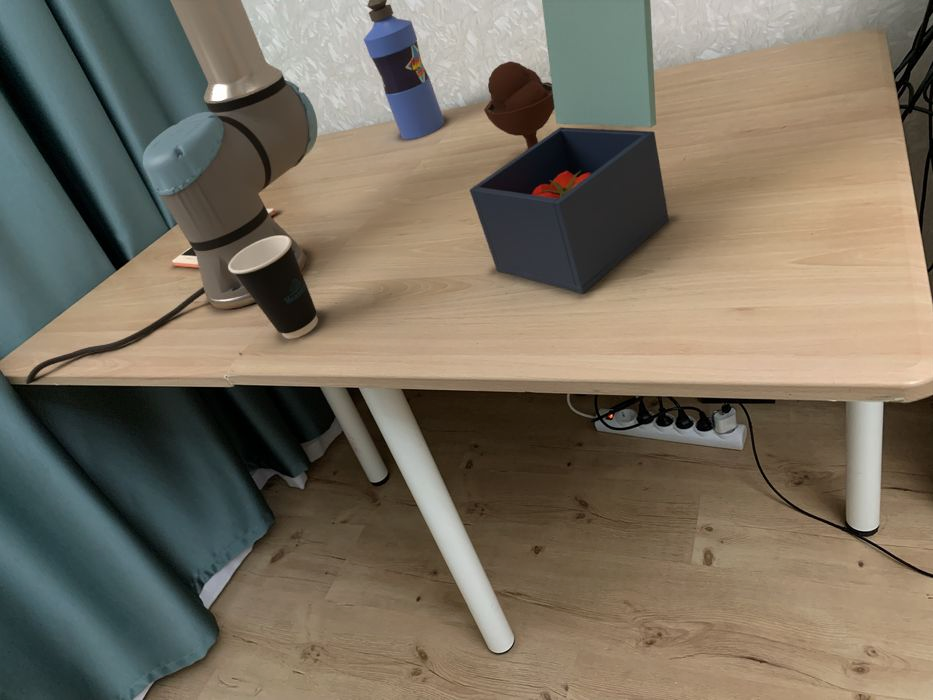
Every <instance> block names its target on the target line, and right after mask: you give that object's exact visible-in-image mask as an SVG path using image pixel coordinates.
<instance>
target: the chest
mask: <svg viewBox="0 0 933 700" xmlns="http://www.w3.org/2000/svg"><path fill="white" fill-rule="evenodd" d="M527 149H528V148H527ZM527 149H526V150H527ZM526 150H524V152H522V153H520V154H519V155H518V156H516V157H515V158H513V159H512V160H511V161H509V162H507V163H506V164H505V165H503V166H502V167H500V168H499V169H498V170H496V171H495V172H493V173H491V174H490V175H488V176H487V177H486V178H484V179H483V180H481V181H480V182H479V183H477V184H475V185H474V186H473V187H471V188H470V189H469V192H470V196H471V199H472V201H473V203H474V207H475V210H476V214H477V216H478V219H479V222H480V225H481V228H482V231H483V234H484V237H485V240H486V242H487V246H488V248H489V249H488V250H489V252H490V255H491V258H492V261H493V264H494V266H495V268H496V269H495V270H496V271H498V272H500V273H504V274H508V275H511V276H515V277H519V278H522V279H526V280H529V281H535V282H538V283H541V284H546V285H549V286H553V287H556V288H560V289H563V290H567V291H571V292H574V293H579V294H582V295H583V294H585V293H586V292H587V291H588V290H589V289H591V288H592V287H593V286H594V285H595V284H597V283H598V282H599V281H600V280H601V279H602V278H604V277H605V276H606V275H607V274H608V273H610V271H612V270H613V269H614V268H615V267H616V266H618V265H619V264H620V263H621V262H622V261H624V259H626V258H627V257H628V256H629V255H630V254H631V253H633V252H634V251H635V250H636V249H637V248H638V247H640V246H641V245H642V244H643V243H645V242H646V241H647V240H648V239H649V238H651V236H653V235H654V234H655V233H656V232H657V231H658V230H659V229H661V228H662V227H663V226H664V225H665V224H667V222H669V221H670V218H669V212H668V211H669V210H668V206H667V200H666V193H665V188H664V187H665V186H664V181H663V177H662V170H661V169H662V168H661V163H660V157H659V152H658V151H659V150H658V146H657V141H656V133H655V131H648V130H629V129H628V130H627V129H608V128H607V129H606V128H583V127H581V128H580V127H561V126H559V128H556V129H555V130H554V131H553V132H551V133H549V134H548V135H547V136H545V137H544V138H543V139H541V140H540V141H538V143H537V144H535V145H534V146H532V147H531V148H529V149H528V150H527V151H526ZM565 171H568V172H570V173H571V174H573V175H575V174H577V173H578V172H580V171H581V172H580V173H579V174H577V176H576V177H577V178H578V177H579V176H581V175H582V174H586V173H591V175H590V176H588V177H587V178H586V179H584V180H583V181H582V182H580V183H579V184H578V185H576V186H575V187H574V188H572V189H571V190H570V191H568V192H567V193H566V194H564V195H563V196H562V197H560V198H559V199H558V198H551V197H544V196H537V195H532V193H533V191H534V190H535V188H536V187H538V186H540V185H542V184H549V185H550V184H551V182H550V181H549V180H551V181H553V180H554V179H555V178H556V177H557V176H558V175H559V174H561V173H563V172H565Z"/></svg>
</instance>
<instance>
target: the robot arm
mask: <svg viewBox="0 0 933 700" xmlns="http://www.w3.org/2000/svg"><path fill="white" fill-rule="evenodd" d="M169 2H170V3H171V5H172V7H173V10H174V12H175V14H176V16H177V18H178V21H179V22H180V24H181V26H182V29H183V32H184V34H185V35H186V37H187V40H188V42H189V44H190V47H191V48H192V51H193V53H194V55H195V57H196V59H197V62H198V63H199V66H200V68H201V70H202V72H203V74H204V76H205V79H206V81H207V87H206V89H205V92H204V95H203V100H204V103H205V104H206V108H207V109H208V111H203V112H198V113H195V114H192V115H190V116H188V117H185V118H183V119H181V120H180V121H179V122H177V123H176V124H173V125H171V126H170V127H168V128H166V129H165V130H163V131H162V132H161V133H159V134H158V135H157V136H156V137H155V138H154V139H153V140H151V142H150V143H149V144H148V145H147V146H146V148H145V150H144V152H143V154H142V166H143V168H144V170H145V172H146V175H147V176H148V178H149V180H150V182H151V185H152V187H153V190H154V191H155V192H156V193H157V194H158V195H159V197H160V198H161V200H162V202H163V203H164V205H165V206H166V208H167V209H168V211H169V213H170V214H171V216H172V218H173V219H174V221H175V222H176V224H177V225H178V227H179V229H180V231H181V232H182V234H183V235H184V237H185V238H186V240H187V242H188V243H189V245H190V247H192V248H193V250H194V251H195V253H196V256H197V261H198V265H199V268H198V270H199V272H200V277H201V282H202V283H201V284H202V287H201V288H199V289H198V290H197V291H195V292H194V293H192V294H191V295H190V296H189V297H187V298H186V299H185V300H183V301H182V302H181V303H180V304H179V305H178V306H176V307H174V308H173V309H171V311H169V312H168V313H166V314H165V315H163V316H161V317H160V318H159V319H157V320H155V321H153V322H152V323H150V324H149V325H147V326H146V327H144V328H142V329H140V330H138V331H137V332H135V333H132V334H131V335H128V336H126V337H124V338H122V339H119V340H116V341H114V342H110V343H106V344H99V345H93V346H88V347H84V348H80V349H78V350H75V351H71V352H69V353H66V354H62V355H59V356H56V357H52V358H49V359H47V360H44V361H42V362H40V363H39V364H36V365H35V366H34V367H33V368H32V370H31V371H30V372H29V374H28V376H27V378H26V381H25V384H26V385H29V384H31V383H33V382H34V381H35V378H36V376H37V375H38V374H39V372H41V371H43V370H44V369H45V368H47V367H49V366H53V365H55V364H58V363H62V362H65V361H69V360H73V359H75V358H78V357H81V356H83V355H88V354H91V353H98V352H105V351H110V350H113V349H117V348H119V347H123V346H124V345H128V344H129V343H131V342H134V341H135V340H138V339H140V338H141V337H143V336H145V335H147V334H149V333H150V332H153V330H155V329H157V328H159V327H160V326H161V325H164V324H165V323H166V322H168V321H170V320H171V319H173V318H174V317H175V316H177V315H179V313H181V312H183V311H184V310H185V309H186V308H187V307H188V306H189V305H191V304H193V302H194V301H196V300H197V299H198V298H200V297H202V296H203V295H204V294H205V296H206V297H207V299H208V301H209V302H210V304H211V305H212V306H213V307H215V308H218V309H221V310H223V309H224V310H228V309H229V310H230V309H237V308H242V307H245V306H249V305H252V304H254V303H256V302H255V300H254V299H253V298H252V296H251V295H250V294H249V292H248V291H247V290H246V288H245V287H244V286H243V284H242V283H241V282H240V280H239V279H238V278H237V276H236V275H235V274H234V273H232V272H230V271H229V268H228V265H229V263H230V261H231V260H232V258H233V257H234V256H235V255H236V254H237V253H239V252H240V251H241V250H243V249H244V248H246V247H248V246H249V245H251V244H253V243H255V242H257V241H260V240H262V239H265V238H268V237H272V236H279V235H283V236H287V237H289V238H290V239H291V242H292V243H291V247H292V249H293V252H294V254H295V257H296V260H297V262H298V265H299V267H300V270H301V271H302V270H303V269H304V267H305V266H306V263H307V261H306V260H307V258H306V256H305V253H304V251H303V249H302V248H301V246H300V245H299V244H298V242H297V241H296V240H295V239H294V238H292V236H291V235H290V234H289V233H287V231H286V230H285V229H283V227H281V225H279V224H278V223H277V221H275V219H273V218H272V216H271V217H270V215H269V213H268V211H267V210H266V209H267V208H266V206H265V203H264V202H263V200H262V198H261V196H260V193H261V192H262V191H263V190H265V189H266V188H267V187H269V186H270V185H271V184H273V183H274V182H275V181H276V180H278V179H279V178H280V177H281V176H283V175H284V174H286V173H287V172H288V171H290V170H291V169H293V168H295V167H296V166H298V165H299V164H300V163H301V162H302V160H304V158H305V157H306V156H307V155H309V153H310V152H311V151H312V150H313V148H314V145H316V144H315V143H316V142H317V138H318V130H319V129H318V128H319V127H318V119H317V118H318V117H317V114H316V111H315V109H314V106H313V104H312V101H311V100H310V98H309V97H308V96H307V94H306V93H305V92H301V91H300V87H299V86H298V85H296V84H295V83H294V82H291V81H290V80H286V79H285V76H284V74H283V72H282V70H281V69H279V68H277V67H275V66H273V65H271V64H270V63H268V62H267V60H266V58H265V56H264V55H265V54H264V53H263V51H262V48H261V45H260V43H259V41H258V38H257V36H256V33H255V30H254V29H253V27H252V23H251V21H250V18H249V16H248V14H247V11H246V8H245V7H244V3H243V0H169Z"/></svg>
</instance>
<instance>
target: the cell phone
mask: <svg viewBox="0 0 933 700" xmlns="http://www.w3.org/2000/svg"><path fill="white" fill-rule="evenodd" d="M266 210H267V211H268V213H269V215H270V217H271V218H272V216H274V215H275V214H276V213H277V212H276V210H275V209H274V208H266ZM171 261H172V264H173V265H174V266H176V267H185V268H195V269H196V268H197V269H199V265H198V261H197V256H196V253H195V251H194V250H193V248H192V246H190V247H189V248H188V249H186V250H185V251H183V252H182V253H180V254H179V255H178V256H176V257H174V258H173V259H172V260H171Z"/></svg>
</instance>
